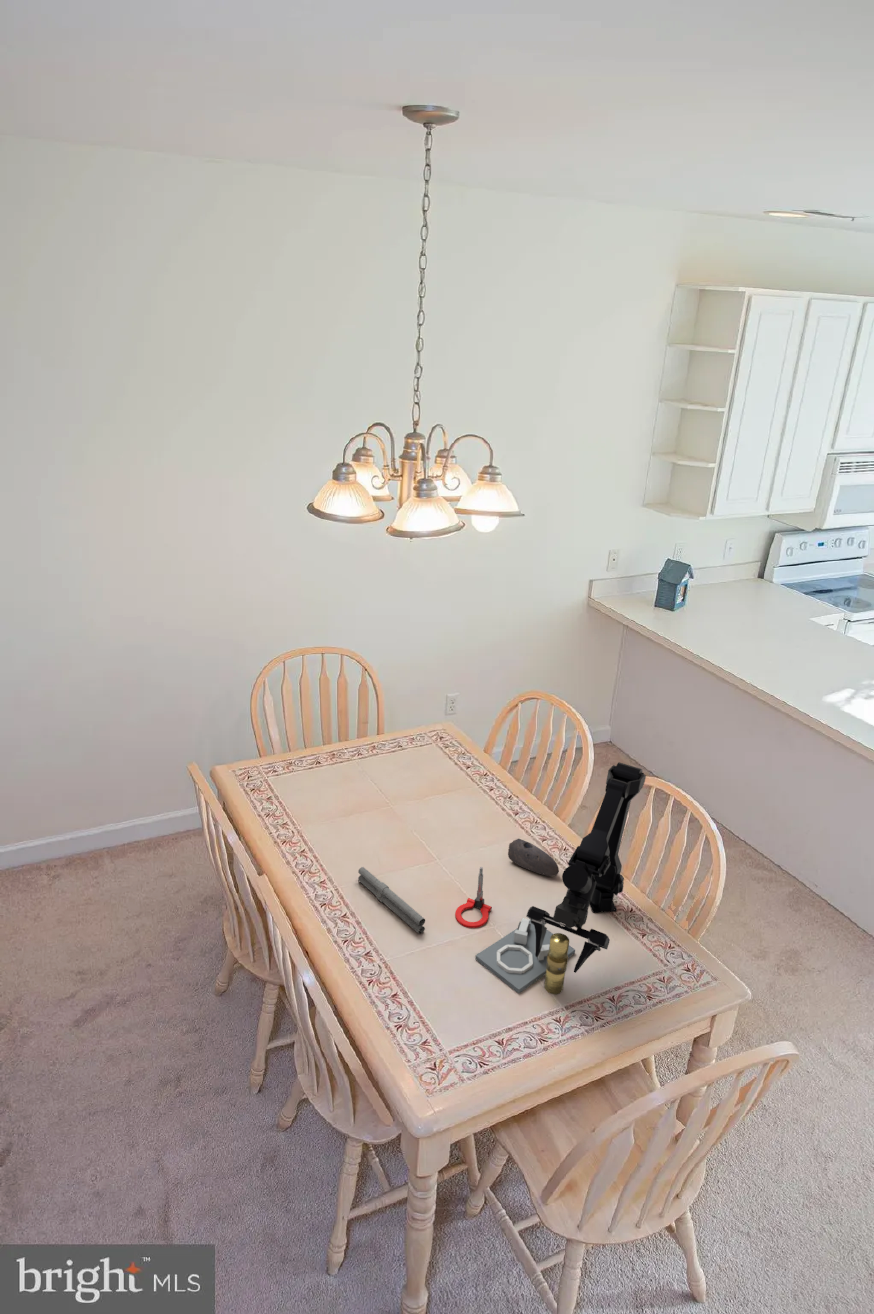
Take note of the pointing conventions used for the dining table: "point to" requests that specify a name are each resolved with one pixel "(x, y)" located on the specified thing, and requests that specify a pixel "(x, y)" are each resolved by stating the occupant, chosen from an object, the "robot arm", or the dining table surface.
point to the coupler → (556, 963)
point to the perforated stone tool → (532, 858)
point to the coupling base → (518, 957)
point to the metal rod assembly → (392, 900)
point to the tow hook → (477, 903)
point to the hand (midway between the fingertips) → (555, 964)
